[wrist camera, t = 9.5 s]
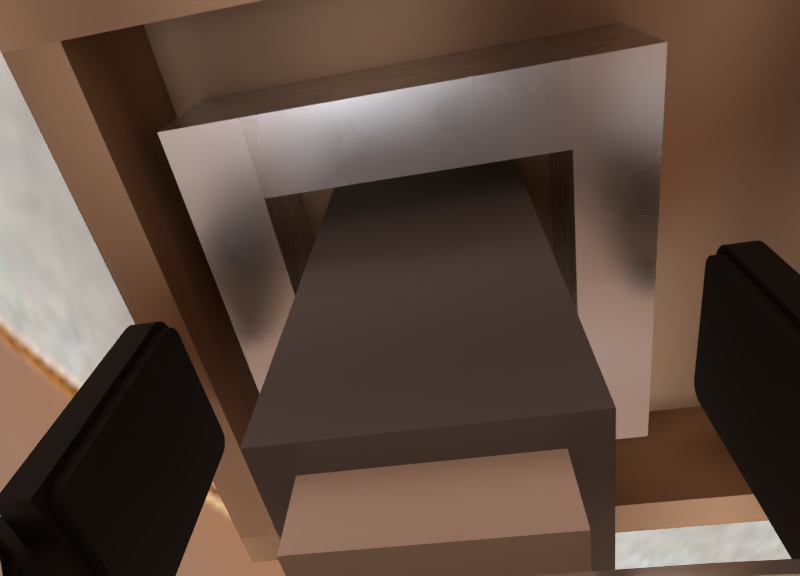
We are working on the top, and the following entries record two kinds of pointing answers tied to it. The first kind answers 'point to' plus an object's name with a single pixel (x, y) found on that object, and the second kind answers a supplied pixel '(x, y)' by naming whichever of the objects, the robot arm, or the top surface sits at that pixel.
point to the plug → (435, 393)
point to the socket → (440, 150)
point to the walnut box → (314, 58)
